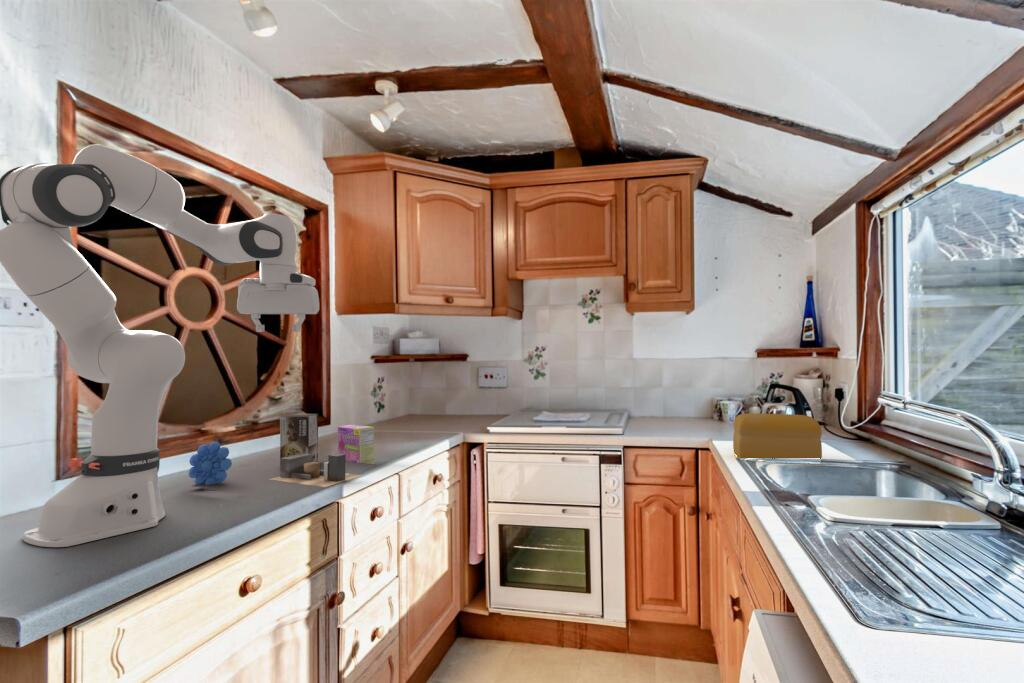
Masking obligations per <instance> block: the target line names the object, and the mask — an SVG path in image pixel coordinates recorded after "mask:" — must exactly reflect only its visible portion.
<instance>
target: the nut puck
mask: <svg viewBox="0 0 1024 683" xmlns="http://www.w3.org/2000/svg"><path fill="white" fill-rule="evenodd" d="M320 467H321V463H320V462H319V461H318V462H308V463H304V474H309V475H311V478H317V477H320V470H321V468H320Z"/></svg>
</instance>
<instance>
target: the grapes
mask: <svg viewBox="0 0 1024 683" xmlns="http://www.w3.org/2000/svg"><path fill="white" fill-rule="evenodd" d="M229 454H230V450H229V448H228V447H224V446H222V447H221V443H220V442H218V441H215V440H214V441H212V442H211V443H209V444H201V445H200V446H198V448H197V450H196V453H195V454H192V455H191V457H190V458H189V461H188V462H189V465H190V466H191V467H190V469H189V471H188V473H187V474H188V477H189V478H190V479H194V486H196V485H200V484H201V485H202V484H204V485H214V484H218V483H223V482H225V480H227V477H228V473H227V471H228V470H230V468H231V467H232V464H233V463H232V459H230V458H228V457H229Z"/></svg>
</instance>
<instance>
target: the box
mask: <svg viewBox="0 0 1024 683" xmlns="http://www.w3.org/2000/svg"><path fill="white" fill-rule="evenodd" d="M337 452H338V454H346V462H348V463H349V462H350V463H356V464H367V465H368V464H369V465H375V426H368V425H360V424H359V425H358V424H346V425H339V426H338V427H337Z"/></svg>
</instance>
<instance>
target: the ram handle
mask: <svg viewBox="0 0 1024 683" xmlns="http://www.w3.org/2000/svg"><path fill="white" fill-rule="evenodd" d="M327 458H328V459H327V460H328V461H327V462H324V463H323V470H324V480H325V481H335V482H338V481H341V480H345V473H346V462H347V461H346V454H338V453H332V454H329V455H328V456H327Z"/></svg>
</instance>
